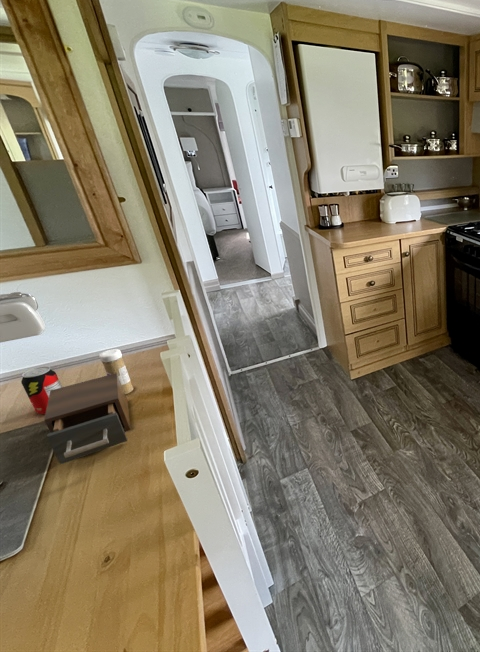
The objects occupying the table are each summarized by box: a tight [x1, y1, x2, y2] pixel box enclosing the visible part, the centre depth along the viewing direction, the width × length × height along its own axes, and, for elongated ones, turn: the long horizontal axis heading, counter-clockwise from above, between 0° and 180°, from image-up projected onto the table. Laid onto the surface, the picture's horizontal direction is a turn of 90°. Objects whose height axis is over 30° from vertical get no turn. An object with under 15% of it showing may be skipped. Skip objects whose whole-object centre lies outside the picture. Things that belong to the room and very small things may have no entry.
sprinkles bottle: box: [98, 348, 134, 395], centre depth 109 cm, size 5×5×14 cm
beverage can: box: [20, 366, 63, 415], centre depth 102 cm, size 6×6×12 cm
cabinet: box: [43, 373, 131, 433], centre depth 97 cm, size 15×13×10 cm
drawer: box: [46, 402, 128, 465], centre depth 90 cm, size 19×12×8 cm, turn 42°
